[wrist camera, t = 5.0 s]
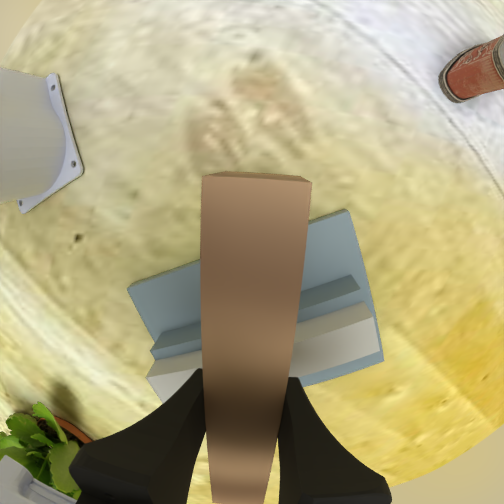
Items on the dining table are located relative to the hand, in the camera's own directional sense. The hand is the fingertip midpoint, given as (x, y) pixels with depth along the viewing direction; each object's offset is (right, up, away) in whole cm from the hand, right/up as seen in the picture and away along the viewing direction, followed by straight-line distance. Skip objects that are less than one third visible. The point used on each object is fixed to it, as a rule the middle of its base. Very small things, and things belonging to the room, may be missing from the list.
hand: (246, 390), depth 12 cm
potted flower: (-23, -19, +17) cm, 34 cm away
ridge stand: (+1, +1, +9) cm, 9 cm away
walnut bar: (0, 0, +2) cm, 2 cm away
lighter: (+17, +20, +3) cm, 26 cm away
